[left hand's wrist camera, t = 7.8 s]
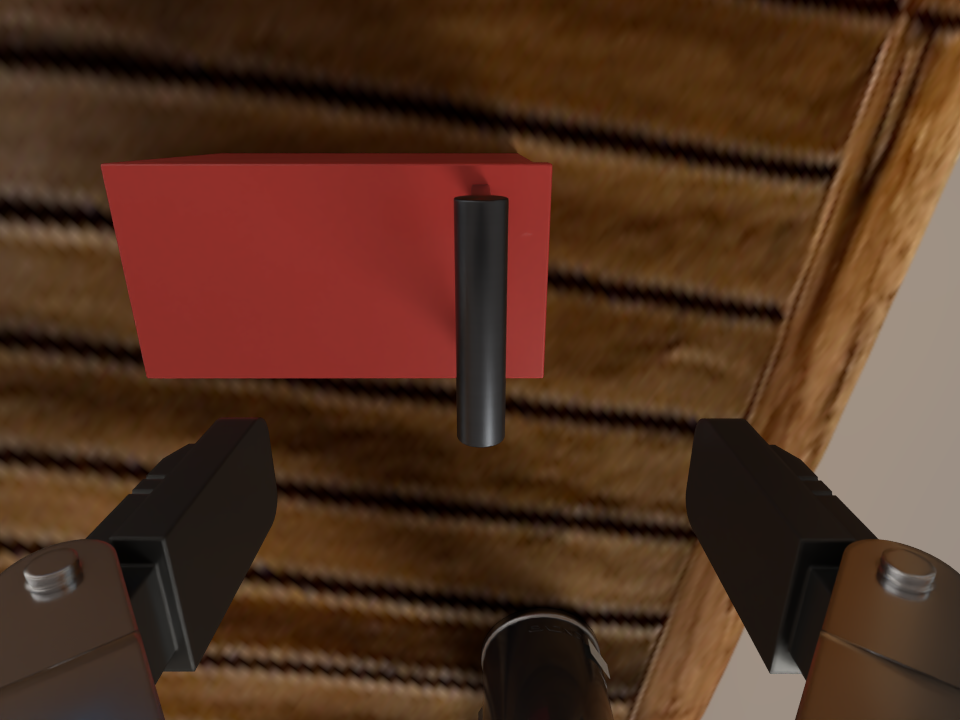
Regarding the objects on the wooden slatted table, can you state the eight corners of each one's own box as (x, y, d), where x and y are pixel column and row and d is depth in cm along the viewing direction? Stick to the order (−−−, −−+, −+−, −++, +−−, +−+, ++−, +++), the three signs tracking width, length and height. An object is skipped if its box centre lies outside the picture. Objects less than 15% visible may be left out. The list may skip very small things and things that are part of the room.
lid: (549, 162, 24) (583, 177, 16) (541, 370, 28) (566, 464, 20) (114, 162, 24) (-60, 177, 16) (158, 370, 28) (30, 465, 20)
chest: (518, 153, 34) (534, 162, 24) (515, 306, 37) (527, 369, 28) (220, 153, 34) (114, 162, 24) (243, 306, 37) (158, 369, 28)
